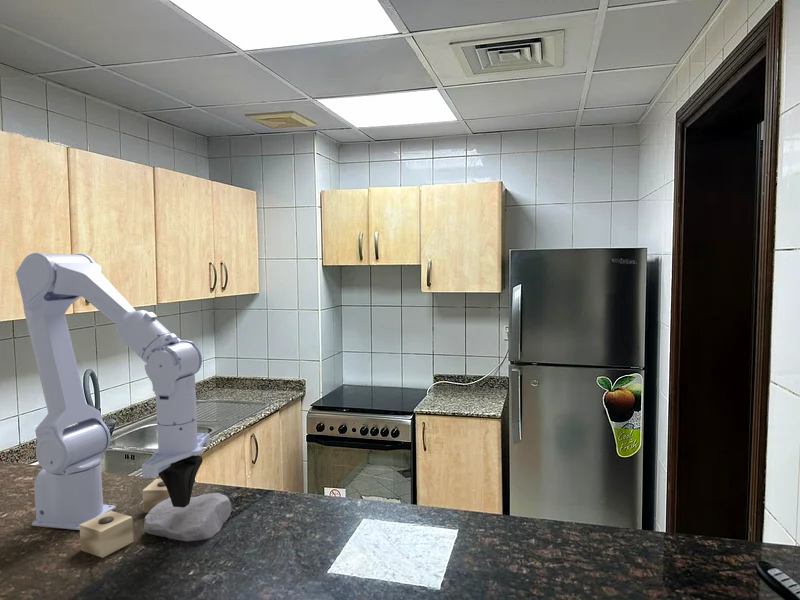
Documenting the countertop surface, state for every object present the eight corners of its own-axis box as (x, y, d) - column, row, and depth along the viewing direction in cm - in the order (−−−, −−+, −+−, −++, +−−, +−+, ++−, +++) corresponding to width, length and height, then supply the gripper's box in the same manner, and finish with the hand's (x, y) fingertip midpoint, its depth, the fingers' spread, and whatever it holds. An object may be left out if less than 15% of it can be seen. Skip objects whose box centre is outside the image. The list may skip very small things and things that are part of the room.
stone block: (211, 554, 81) (236, 511, 91) (206, 527, 80) (231, 486, 89) (137, 554, 82) (169, 512, 92) (130, 527, 81) (164, 487, 90)
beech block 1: (81, 551, 79) (79, 523, 79) (112, 535, 84) (111, 509, 83) (102, 558, 77) (101, 530, 77) (133, 542, 81) (132, 515, 81)
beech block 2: (143, 513, 91) (142, 489, 91) (157, 500, 96) (156, 477, 96) (172, 512, 91) (171, 488, 91) (184, 500, 96) (183, 477, 96)
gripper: (170, 436, 75) (175, 529, 76) (224, 408, 89) (228, 487, 90) (127, 433, 77) (132, 525, 78) (187, 407, 91) (190, 485, 92)
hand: (181, 505), depth 84 cm, fingers closed
